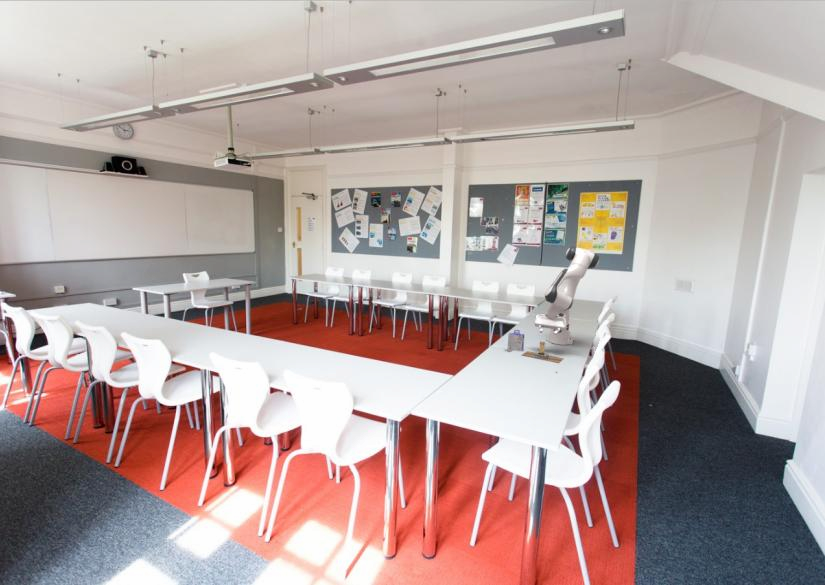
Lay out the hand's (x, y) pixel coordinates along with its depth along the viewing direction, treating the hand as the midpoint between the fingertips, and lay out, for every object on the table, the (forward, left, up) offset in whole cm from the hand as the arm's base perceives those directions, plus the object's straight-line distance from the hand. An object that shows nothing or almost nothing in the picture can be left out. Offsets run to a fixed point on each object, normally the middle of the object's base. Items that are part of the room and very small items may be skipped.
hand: (548, 333), depth 261 cm
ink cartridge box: (+3, -20, -16) cm, 26 cm away
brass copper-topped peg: (+10, 0, -14) cm, 17 cm away
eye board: (+8, 0, -16) cm, 17 cm away
